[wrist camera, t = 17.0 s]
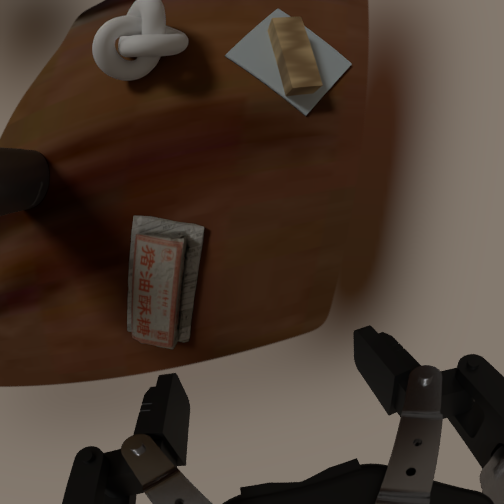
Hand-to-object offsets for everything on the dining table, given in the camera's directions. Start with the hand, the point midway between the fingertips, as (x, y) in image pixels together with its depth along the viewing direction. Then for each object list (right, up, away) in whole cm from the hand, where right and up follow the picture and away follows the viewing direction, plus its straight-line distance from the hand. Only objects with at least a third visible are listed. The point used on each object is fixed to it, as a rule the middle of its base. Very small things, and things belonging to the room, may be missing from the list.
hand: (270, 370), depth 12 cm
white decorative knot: (-16, +33, +19) cm, 41 cm away
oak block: (+6, +26, +21) cm, 34 cm away
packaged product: (-14, +1, +28) cm, 31 cm away
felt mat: (+5, +32, +21) cm, 39 cm away
